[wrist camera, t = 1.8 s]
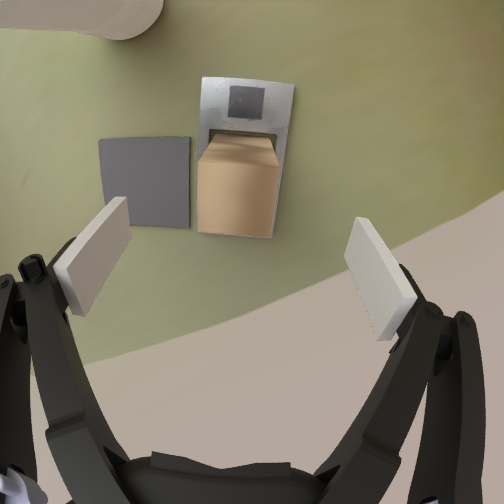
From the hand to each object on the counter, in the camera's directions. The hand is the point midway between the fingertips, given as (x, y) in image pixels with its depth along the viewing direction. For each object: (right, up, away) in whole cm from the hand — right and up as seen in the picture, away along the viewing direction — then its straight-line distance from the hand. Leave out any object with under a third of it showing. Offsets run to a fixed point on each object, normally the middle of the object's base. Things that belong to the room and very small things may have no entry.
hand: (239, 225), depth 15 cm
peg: (0, +8, +11) cm, 13 cm away
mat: (-11, +6, +12) cm, 17 cm away
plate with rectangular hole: (0, +8, +10) cm, 13 cm away
